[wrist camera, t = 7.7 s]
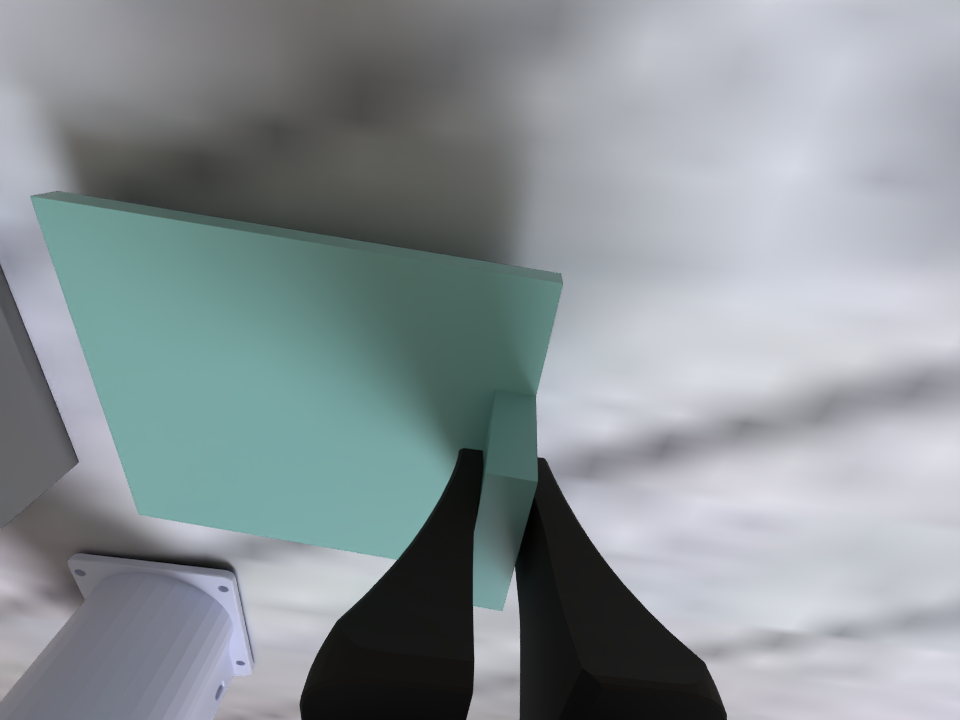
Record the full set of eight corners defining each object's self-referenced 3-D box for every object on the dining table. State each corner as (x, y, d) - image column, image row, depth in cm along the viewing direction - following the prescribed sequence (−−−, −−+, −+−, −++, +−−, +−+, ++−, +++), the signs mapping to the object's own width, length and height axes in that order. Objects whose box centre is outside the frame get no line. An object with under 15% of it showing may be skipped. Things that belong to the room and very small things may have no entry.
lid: (495, 537, 19) (484, 675, 14) (170, 481, 19) (58, 599, 15) (559, 262, 13) (574, 347, 9) (88, 185, 13) (-144, 227, 9)
